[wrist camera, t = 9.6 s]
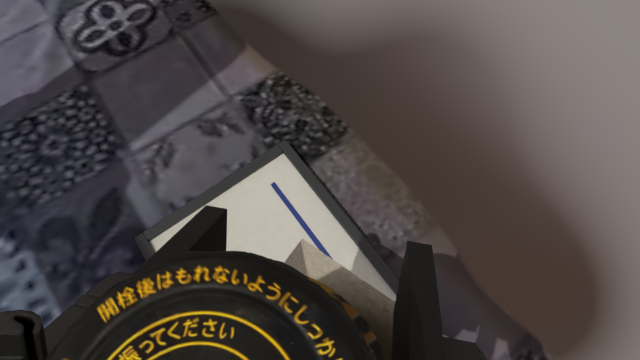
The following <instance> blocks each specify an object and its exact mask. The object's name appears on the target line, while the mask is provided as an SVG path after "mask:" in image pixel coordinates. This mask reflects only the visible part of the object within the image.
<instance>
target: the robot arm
mask: <svg viewBox="0 0 640 360" xmlns="http://www.w3.org/2000/svg"><path fill="white" fill-rule="evenodd" d="M226 245H227V209H225V208H219V207H213V206H208V205H206V206H205V207H204V208H203V209H202V210H200V211H199V212H198V213H197V214H196V215H195V216H194V217H193V218H192V219H191V220H190V221H189V222H188V223H187V224H185V225H184V226H183V227H182V228H181V229H180V230H179V231H178V232H177V233H176V234H175V235H174V236H173V237H172V238H171V239H169V240H168V241H167V242H166V243H165V244H164V245H163V246H162V247H161V248H160V249H159V250H158V251H157V252H156V253H154V254H153V255H152V256H151V257H150V258H149V259H148V260H147V261H146V262H145V263H144V264H143V265H142V266H141V267H140V268H138V269H137V270H136V271H135V272H134V273H133V274H129V273H124V272H117V273H115V274H113V275H111V276H109V277H107V278H105V279H103V280H101V281H99V282H98V283H97V284H96V285H95V286H94V287H92V288H91V289H90V290H89V291H88V292H87V293H86V295H83V296H82V297H81V298H80V299H78V300H77V301H76V302H75V304H74V305H71V306H70V307H69V308H68V309H67V310H66V311H65V312H63V313H62V314H61V315H60V316H59V317H58V318H56V319H55V320H54V321H53V322H52V323H51V324H49V325H48V326H47V327H46V328H45V329H44V328H43V323H42V320H41V317H40V316H39V315H37V314H35V313H34V312H32V311H24V310H15V311H6V312H2V313H0V360H46V358H47V357H48V355H49V353H50V352H51V351H52V350H53V348H54V347H55V346H56V345H57V344H58V343H59V341H60V340H61V339H62V338H63V337H64V335H65V333H66V331H67V329H68V328H69V327H70V326H71V325H72V324H73V323H75V322H76V321H77V320H78V319H79V317H80V316H81V315H82V314H83V313H84V312H85V311H86V310H87V309H88V308H89V306H90V305H91V304H92V303H93V302H95V301H96V300H97V299H98V298H99V297H100V296H101V295H103V294H104V293H105V292H106V291H107V290H108V289H110V288H111V287H112V286H113V285H115V284H116V283H117V282H120V281H122V280H125V279H127V278H129V277H131V276H134V275H136V274H137V273H139V272H141V271H143V270H145V269H147V268H149V267H152V266H154V265H156V264H158V263H161V262H163V261H165V260H167V259H169V258H171V257H173V256H175V255H177V254H178V253H181V252H186V251H206V252H207V251H226ZM392 360H487V359H486V357H485V356H484V355H483V353H482V352H481V351H480V349H479V348H478V346H477V345H476V344H475V343H472V342H467V341H462V340H457V339H452V338H448V337H443V332H442V324H441V316H440V308H439V300H438V292H437V284H436V275H435V267H434V259H433V251H432V245H428V244H422V243H416V242H411V241H407V246H406V251H405V256H404V261H403V266H402V271H401V276H400V281H399V286H398V291H397V296H396V301H395V306H394V311H393V338H392Z"/></svg>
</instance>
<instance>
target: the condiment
mask: <svg viewBox="0 0 640 360" xmlns="http://www.w3.org/2000/svg"><path fill="white" fill-rule="evenodd" d="M394 306H395V301H393V300H392V299H390V298H389V297H387V296H385V295H384V294H383V293H381V292H380V291H378V290H377V289H375V288H374V287H373V286H371V285H370V284H368V283H367V282H365V281H364V280H361V279H360V278H359V277H358V276H356V275H355V274H353V273H352V272H351V271H349V270H348V269H346V268H345V267H343V266H342V265H341V264H339V263H338V262H336V261H334V260H333V259H331V258H330V257H328V256H327V255H325V254H324V253H323V252H322V251H320V250H319V249H317V248H316V247H314V246H313V245H311V244H310V243H308V242H307V241H305V240H304V239H301V241H300V242H299V244H298V245H297V246H296V248H295V249H294V250H293V251H292V253H291V254H290V255H289V257H288V258H287V260H286V261H285V263H284V262H281V261H277V260H273V259H270V258H266V257H264V256H261V255H257V254H254V253H251V252H250V253H247V252H245V251H207V252H206V251H186V252H181V253H178V254H177V255H175V256H173V257H171V258H169V259H167V260H165V261H163V262H161V263H158V264H156V265H154V266H152V267H149V268H147V269H145V270H143V271H141V272H139V273H137V274H136V275H134V276H131V277H129V278H127V279H125V280H122V281H120V282H117V283H116V284H115V285H113V286H112V287H111V288H110V289H108V290H107V291H106V292H105V293H104V294H103V295H101V296H100V297H99V298H98V299H97V300H96V301H95V302H93V303H92V304H91V305H90V306H89V308H88V309H87V310H86V311H85V312H84V313H83V314H82V315H81V316H80V317H79V319H78V320H77V321H76V322H75V323H73V324H72V325H71V326H70V327H69V328H68V329H67V331H66V333H65V335H64V337H63V338H62V339H61V340H60V341H59V343H58V344H57V345H56V346H55V347H54V348H53V350H52V351H51V352H50V353H49V355H48V357H47V358H46V360H392V338H393V311H394ZM443 337H447V336H446V335H444V334H443ZM448 338H449V337H448Z"/></svg>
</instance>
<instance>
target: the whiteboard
mask: <svg viewBox="0 0 640 360" xmlns="http://www.w3.org/2000/svg"><path fill="white" fill-rule="evenodd" d="M206 205H208V206H213V207H219V208H225V209H227V245H226V251H245V252H247V253H250V252H251V253H254V254H257V255H261V256H264V257H266V258H270V259H273V260H277V261H281V262H284V263H285V261H286V260H287V258H288V257H289V255H290V254H291V253H292V251H293V250H294V249H295V248H296V246H297V245H298V244H299V242H300V241H301V239H304V240H305V241H307V242H308V243H310V244H311V245H313V246H314V247H316V248H317V249H319V250H320V251H322V252H323V253H324V254H325V255H327V256H328V257H330V258H331V259H333V260H334V261H336V262H338V263H339V264H341V265H342V266H343V267H345V268H346V269H348V270H349V271H351V272H352V273H353V274H355V275H356V276H358V277H359V278H360V279H361V280H364V281H365V282H367V283H368V284H370V285H371V286H373V287H374V288H375V289H377V290H378V291H380V292H381V293H383V294H384V295H385V296H387V297H389V298H390V299H392V300H393V301H396V296H397V291H398V286H399V281H400V280H399V279H398V278H397V277H396V275H395V274H394V273H393V272H392V270H391V269H390V268H389V267H388V265H387V264H386V263H385V262H384V260H383V259H382V258H381V257H380V256H379V254H378V253H377V252H376V251H375V249H374V248H373V247H372V246H371V244H370V243H369V242H368V241H367V239H366V238H365V237H364V236H363V235H362V233H361V232H360V231H359V230H358V228H357V227H356V226H355V225H354V223H353V222H352V221H351V220H350V218H349V217H348V216H347V215H346V214H345V212H344V211H343V210H342V209H341V207H340V206H339V205H338V204H337V202H336V201H335V200H334V199H333V197H332V196H331V195H330V194H329V193H328V191H327V190H326V189H325V188H324V186H323V185H322V184H321V183H320V181H319V180H318V179H317V178H316V176H315V175H314V174H313V173H312V172H311V170H310V169H309V168H308V167H307V165H306V164H305V163H304V162H303V160H302V159H301V158H300V157H299V155H298V154H297V153H296V152H295V151H294V149H293V148H292V147H291V146H290V144H289V143H288V142H287V141H286V140H284V141H282V142H281V143H279V144H278V145H276V146H274V147H273V148H271V149H270V150H268V151H267V152H265V153H264V154H262V155H261V156H259V157H257V158H256V159H254V160H253V161H251V162H250V163H248V164H247V165H245V166H244V167H242V168H241V169H239V170H238V171H236V172H234V173H233V174H231V175H230V176H228V177H227V178H225V179H224V180H222V181H221V182H219V183H218V184H216V185H214V186H213V187H211V188H210V189H208V190H207V191H205V192H204V193H202V194H201V195H199V196H198V197H196V198H195V199H193V200H191V201H190V202H188V203H187V204H185V205H184V206H182V207H181V208H179V209H178V210H176V211H175V212H173V213H171V214H170V215H168V216H167V217H165V218H164V219H162V220H161V221H159V222H158V223H156V224H155V225H153V226H152V227H150V228H148V229H147V230H145V231H144V232H143V233H141V234H140V235H138V236H136V237H135V238H134V240H135V242H136V244H137V246H138V248H139V249H140V251H141V253H142V255H143V257H144V259H145V260H146V261H147V260H148V259H149V258H150V257H151V256H152V255H153V254H154V253H156V252H157V251H158V250H159V249H160V248H161V247H162V246H163V245H164V244H165V243H166V242H167V241H168V240H169V239H171V238H172V237H173V236H174V235H175V234H176V233H177V232H178V231H179V230H180V229H181V228H182V227H183V226H184V225H185V224H187V223H188V222H189V221H190V220H191V219H192V218H193V217H194V216H195V215H196V214H197V213H198V212H199V211H200V210H202V209H203V208H204V207H205V206H206Z"/></svg>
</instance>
